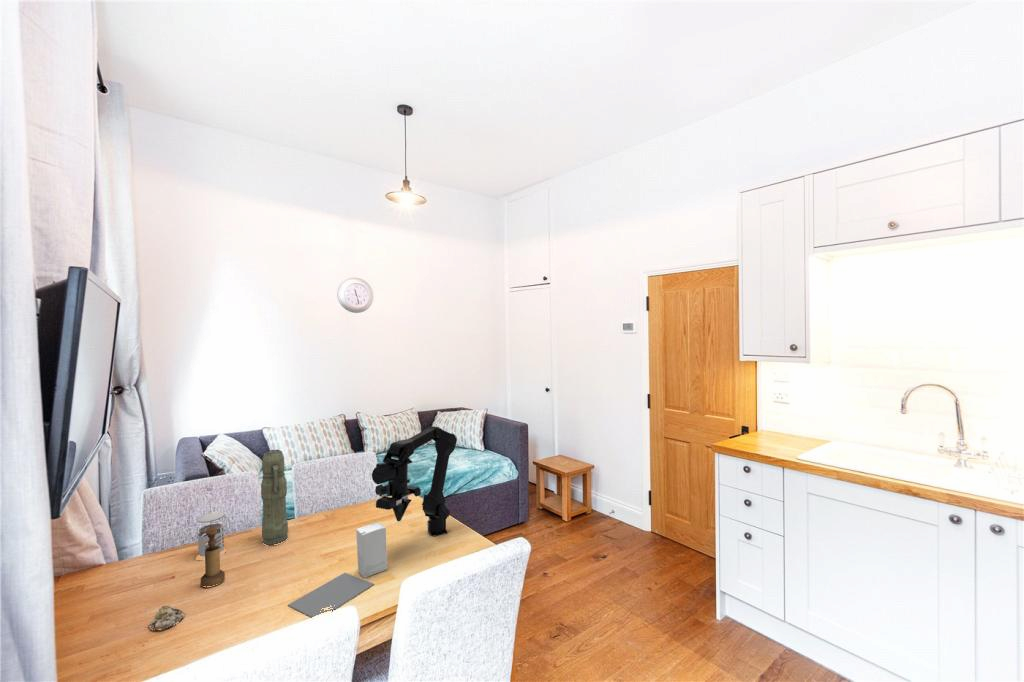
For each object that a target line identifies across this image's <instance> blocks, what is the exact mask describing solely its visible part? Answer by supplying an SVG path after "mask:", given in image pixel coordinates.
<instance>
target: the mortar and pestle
mask: <svg viewBox="0 0 1024 682" xmlns="http://www.w3.org/2000/svg"><path fill="white" fill-rule="evenodd" d="M216 533H217V528H216V527H209V528H208V529H207V531H206V533H205V535H207V536H208V537H209V541H208V543H207V544H208V545H209V547H208V548H206V549H205V561H204V562H205V564H204V568H205V571H204V574H203V575H202V576H201V577H200V586H201V585H202V586H206V587H207V586H213V585H216V584H219V583H221V582H223V580H224V579H225V580H226V573H225V571H224V570H222V569H221V560H220V559H221V556H220V546H215V545H216V540H215V535H216ZM207 536H206V537H207ZM223 583H224V582H223ZM221 584H222V583H221ZM219 585H220V584H219Z"/></svg>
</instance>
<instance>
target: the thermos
mask: <svg viewBox="0 0 1024 682" xmlns="http://www.w3.org/2000/svg"><path fill="white" fill-rule="evenodd" d="M261 463H262V465H261V468H262V470H261V471H262V480H261V483H260V497H261V500H262V518H263V519H262V520H263V523H262V524H261V525H262V526H261V538H262V544H263V543H264V544H266V545H273V546H275V545H274V544H278V543H281V542H283V541H285V540H286V539H287V538H288V539H289V537H288V535H289V534H288V533H289V522H288V519H287V503H286V497H287V494H288V484H287V478H286V474H285V455H284V453H283V451H282V450H280V449H271V450H267V451H266V452H264V453H263V457H262V459H261ZM288 539H287V540H288ZM287 540H286V541H287ZM286 541H285V542H286ZM283 543H284V542H283ZM281 544H282V543H281ZM278 545H279V544H278Z"/></svg>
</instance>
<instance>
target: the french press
mask: <svg viewBox="0 0 1024 682" xmlns="http://www.w3.org/2000/svg"><path fill="white" fill-rule="evenodd" d="M213 489H214V488H213V486H212V485H211V486H208V487H206V491H212V490H213ZM211 504H212V503H211V501H209V512H206V513H203V514H202V515H201V516H199V517H198V518H197V519H196V521H197V522H198V523H209V524H208V525H205V526H202V527H200V529H198V532H199V533H198V534H197V535H198V536H197V541H198V543H197V544H198V548H197V549H198V554H199V555H200V556H205V549H206V548H208V547H209V545H208V541H209V537H208V536H207V535H206V531H207V529H208V528H209V527H216V528H217V533H216V535H215V540H216V545H215V546H220V552H221V551H223V550H224V548H225V545H224V544H225V543H224V540H225V536H226V535H227V534H228V532H229V531H230V528H231V520H230V518H229V517H227V516H224V513H223V512H220V511H211V507H212V505H211ZM224 519H225V522H226V523H225V524H226V525H225V529H224V528H223V524H221V523H214V524H212V522H214V521H222V522H223V520H224ZM228 522H229V524H228ZM227 527H228V528H227ZM224 533H225V534H224Z"/></svg>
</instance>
